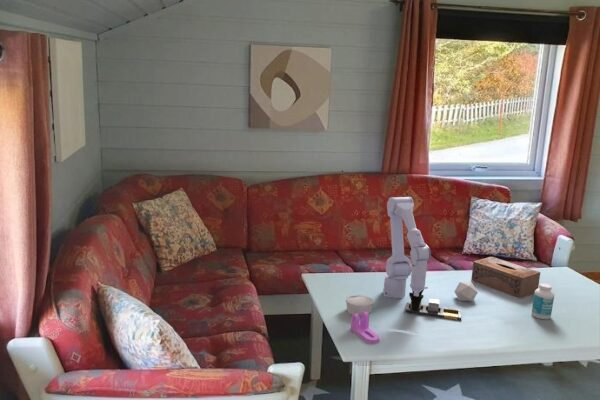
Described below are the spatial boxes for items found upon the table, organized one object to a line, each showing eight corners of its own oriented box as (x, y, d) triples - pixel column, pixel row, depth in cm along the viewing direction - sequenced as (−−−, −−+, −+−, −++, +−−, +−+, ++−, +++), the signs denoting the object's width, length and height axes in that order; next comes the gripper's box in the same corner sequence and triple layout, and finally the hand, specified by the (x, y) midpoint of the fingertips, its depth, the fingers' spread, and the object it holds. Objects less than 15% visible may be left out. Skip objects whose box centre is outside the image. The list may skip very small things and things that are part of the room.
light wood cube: (410, 311, 223) (411, 299, 222) (410, 307, 227) (411, 296, 226) (420, 312, 222) (421, 301, 221) (420, 308, 226) (421, 297, 225)
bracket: (350, 329, 207) (351, 312, 206) (362, 327, 210) (364, 310, 208) (369, 344, 196) (370, 326, 194) (382, 341, 198) (383, 324, 197)
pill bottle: (542, 321, 221) (546, 289, 218) (527, 314, 227) (531, 283, 224) (554, 318, 224) (559, 287, 221) (539, 311, 231) (544, 281, 228)
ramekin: (357, 304, 231) (357, 292, 230) (378, 312, 223) (379, 300, 222) (339, 311, 223) (340, 299, 222) (360, 320, 215) (361, 307, 214)
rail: (404, 314, 222) (404, 309, 222) (406, 306, 230) (406, 302, 229) (460, 322, 217) (461, 317, 216) (460, 314, 224) (461, 309, 224)
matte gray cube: (427, 313, 222) (428, 302, 221) (428, 309, 225) (429, 298, 224) (437, 315, 221) (439, 303, 220) (438, 311, 224) (439, 299, 223)
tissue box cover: (537, 292, 252) (540, 272, 250) (519, 299, 244) (522, 277, 242) (489, 275, 272) (491, 256, 270) (471, 281, 264) (473, 261, 262)
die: (472, 308, 233) (484, 288, 234) (454, 296, 233) (466, 276, 235) (465, 307, 241) (477, 287, 243) (448, 295, 242) (459, 276, 243)
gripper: (427, 282, 214) (424, 314, 217) (429, 270, 227) (426, 301, 230) (409, 280, 215) (406, 312, 218) (412, 268, 229) (409, 298, 232)
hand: (415, 306), depth 224 cm, fingers open, 7 cm apart
